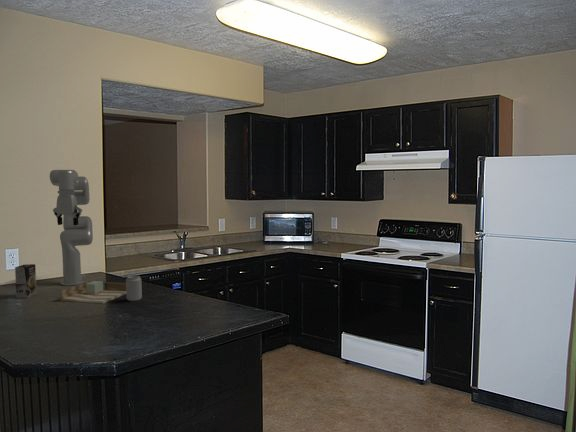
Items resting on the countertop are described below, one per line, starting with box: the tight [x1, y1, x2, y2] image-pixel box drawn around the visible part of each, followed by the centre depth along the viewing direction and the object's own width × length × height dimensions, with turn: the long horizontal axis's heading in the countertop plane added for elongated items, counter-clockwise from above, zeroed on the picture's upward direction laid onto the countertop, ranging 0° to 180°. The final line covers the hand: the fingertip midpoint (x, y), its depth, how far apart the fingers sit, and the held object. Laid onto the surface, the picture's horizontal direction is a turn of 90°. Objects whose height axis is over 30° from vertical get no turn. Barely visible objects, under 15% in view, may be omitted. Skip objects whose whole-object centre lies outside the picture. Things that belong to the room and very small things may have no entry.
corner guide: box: [59, 281, 126, 304], centre depth 264 cm, size 24×24×5 cm
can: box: [125, 275, 143, 302], centre depth 256 cm, size 8×8×12 cm
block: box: [86, 279, 105, 294], centre depth 269 cm, size 5×9×5 cm, turn 167°
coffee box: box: [14, 263, 38, 299], centre depth 266 cm, size 9×6×16 cm
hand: (68, 224), depth 273 cm, fingers open, 9 cm apart
